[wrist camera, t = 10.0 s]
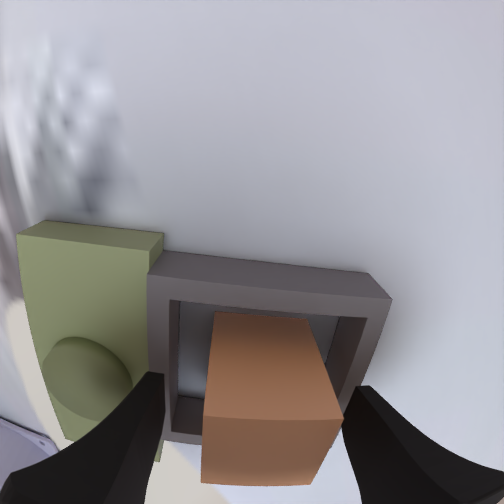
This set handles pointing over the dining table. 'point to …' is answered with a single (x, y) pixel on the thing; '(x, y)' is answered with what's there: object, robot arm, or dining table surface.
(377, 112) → the dining table surface
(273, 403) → the plain brown block
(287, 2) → the dining table surface
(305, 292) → the domed block with frame
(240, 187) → the dining table surface
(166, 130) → the dining table surface
